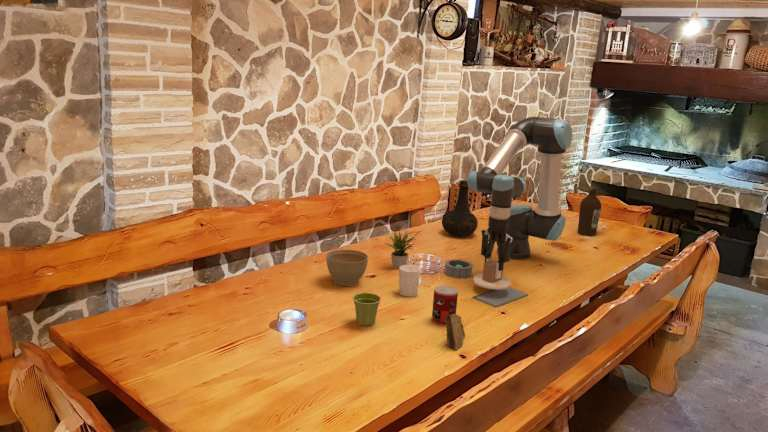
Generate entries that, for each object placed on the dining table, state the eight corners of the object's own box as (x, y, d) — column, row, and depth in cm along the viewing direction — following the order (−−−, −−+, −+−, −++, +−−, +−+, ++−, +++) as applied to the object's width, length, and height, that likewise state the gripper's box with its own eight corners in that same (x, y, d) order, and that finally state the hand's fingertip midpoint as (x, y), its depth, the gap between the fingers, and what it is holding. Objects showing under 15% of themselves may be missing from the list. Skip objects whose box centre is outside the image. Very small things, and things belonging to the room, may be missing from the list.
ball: (457, 271, 257) (458, 262, 256) (464, 273, 255) (465, 265, 254) (452, 272, 255) (452, 264, 254) (458, 275, 252) (459, 266, 251)
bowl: (456, 269, 263) (457, 257, 261) (477, 276, 255) (478, 265, 254) (439, 274, 255) (440, 262, 254) (459, 282, 248) (460, 270, 246)
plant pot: (346, 324, 203) (347, 300, 201) (358, 314, 212) (359, 290, 210) (373, 330, 200) (374, 305, 198) (383, 319, 209) (385, 295, 206)
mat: (486, 279, 252) (486, 278, 252) (527, 295, 238) (528, 293, 238) (454, 290, 239) (454, 288, 239) (496, 307, 225) (496, 305, 225)
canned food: (430, 314, 215) (432, 285, 212) (452, 315, 216) (455, 285, 213) (433, 324, 207) (436, 293, 205) (457, 324, 208) (460, 294, 205)
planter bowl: (372, 279, 245) (374, 252, 242) (357, 292, 230) (359, 265, 228) (335, 272, 250) (336, 246, 247) (318, 285, 235) (319, 258, 233)
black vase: (441, 228, 323) (446, 175, 316) (476, 231, 321) (481, 178, 313) (439, 238, 306) (444, 182, 298) (476, 241, 303) (482, 185, 296)
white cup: (416, 298, 228) (418, 272, 226) (395, 295, 230) (397, 270, 227) (420, 290, 236) (422, 266, 233) (399, 288, 237) (401, 263, 235)
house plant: (413, 276, 250) (416, 238, 246) (379, 272, 253) (382, 234, 249) (418, 265, 264) (421, 228, 260) (386, 261, 266) (389, 225, 262)
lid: (488, 273, 247) (490, 254, 245) (517, 284, 237) (520, 264, 235) (465, 280, 237) (467, 260, 235) (495, 292, 228) (497, 271, 226)
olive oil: (572, 232, 329) (578, 186, 323) (582, 229, 337) (589, 184, 330) (590, 237, 322) (597, 190, 316) (600, 234, 329) (607, 188, 323)
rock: (455, 324, 203) (433, 326, 197) (471, 310, 198) (448, 312, 192) (470, 353, 198) (447, 357, 192) (486, 339, 193) (463, 343, 186)
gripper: (474, 213, 234) (469, 271, 240) (512, 223, 222) (505, 285, 228) (487, 210, 239) (481, 268, 245) (524, 221, 227) (517, 281, 233)
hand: (492, 276), depth 237 cm, fingers closed on lid, 4 cm apart
